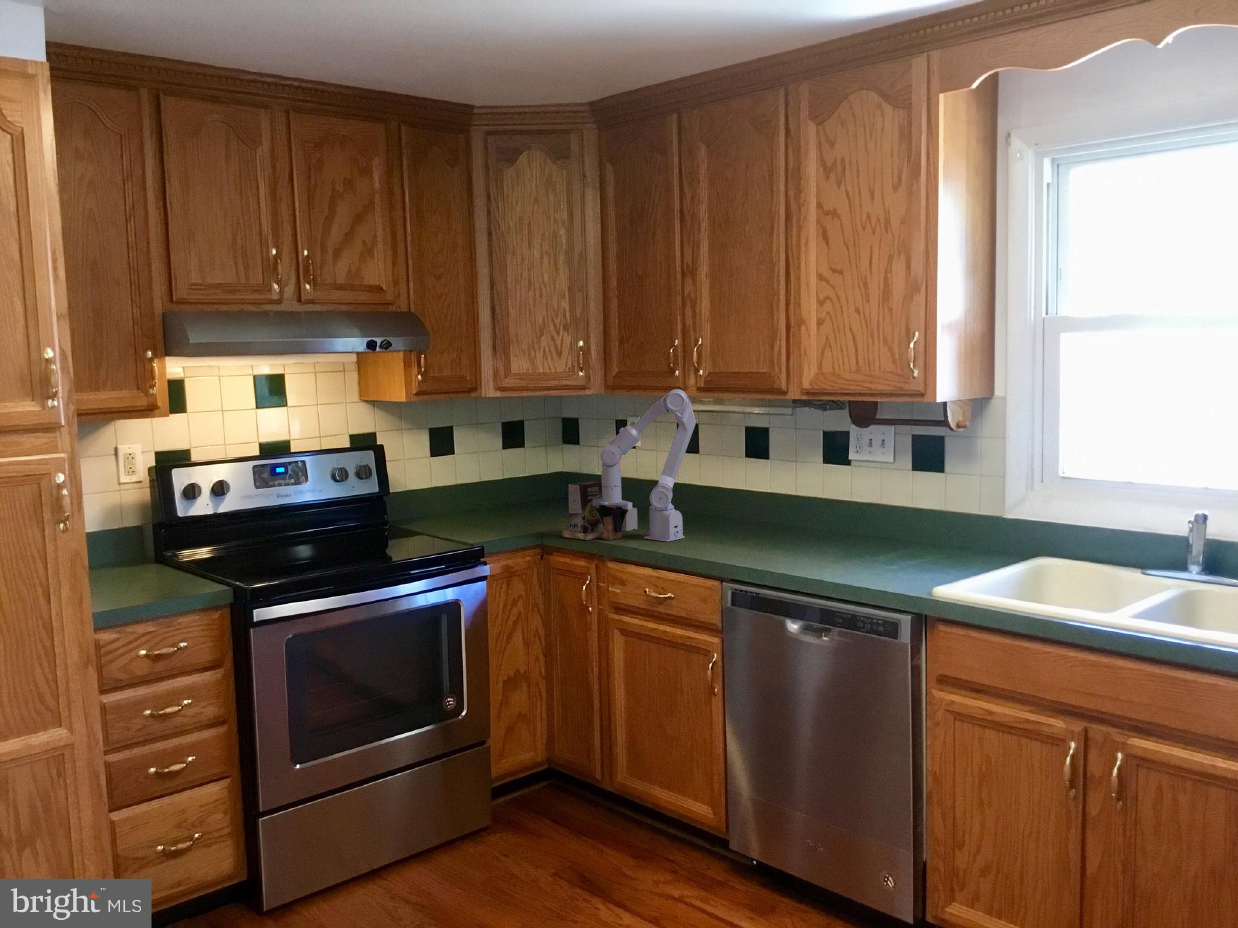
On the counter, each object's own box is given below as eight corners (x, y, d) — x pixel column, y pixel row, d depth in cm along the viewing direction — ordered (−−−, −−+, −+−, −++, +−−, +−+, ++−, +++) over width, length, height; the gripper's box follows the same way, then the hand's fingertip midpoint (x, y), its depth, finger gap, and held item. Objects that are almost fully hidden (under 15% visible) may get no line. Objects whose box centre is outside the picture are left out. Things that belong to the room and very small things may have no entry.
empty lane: (640, 528, 340) (640, 507, 340) (623, 531, 335) (622, 510, 334) (603, 523, 352) (603, 503, 351) (586, 526, 346) (585, 506, 345)
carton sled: (631, 535, 327) (630, 513, 326) (600, 541, 318) (599, 519, 317) (593, 530, 338) (592, 509, 338) (561, 536, 329) (561, 515, 328)
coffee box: (583, 538, 325) (582, 485, 323) (568, 536, 329) (567, 483, 327) (605, 534, 331) (603, 481, 330) (590, 532, 336) (588, 480, 334)
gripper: (584, 485, 324) (586, 530, 325) (620, 489, 314) (621, 535, 315) (601, 483, 329) (602, 527, 330) (636, 486, 319) (637, 532, 320)
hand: (612, 531), depth 323 cm, fingers open, 4 cm apart
